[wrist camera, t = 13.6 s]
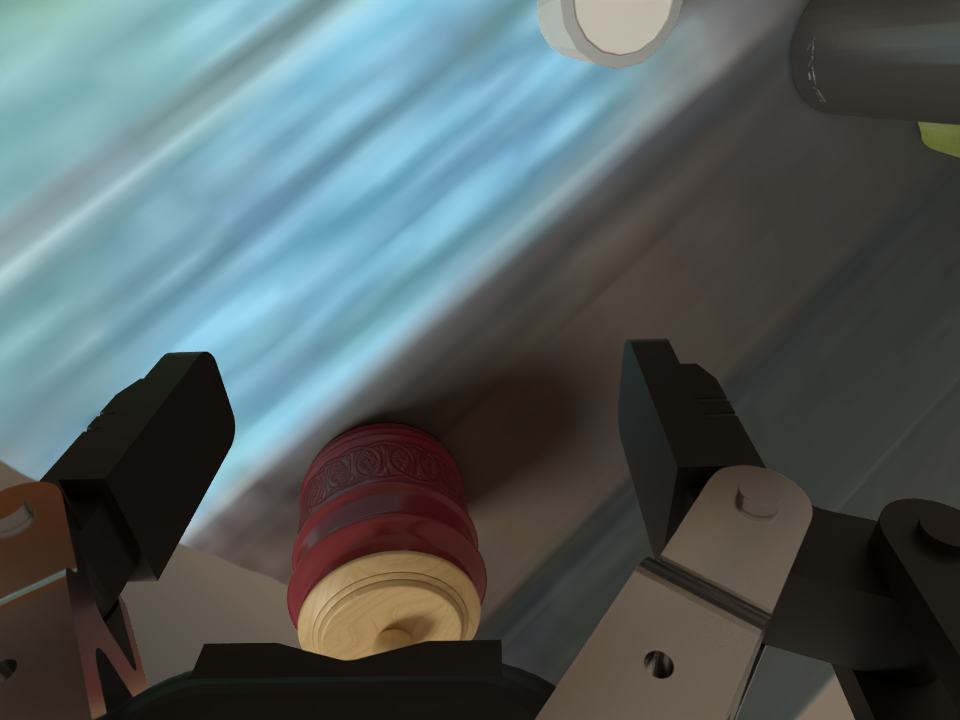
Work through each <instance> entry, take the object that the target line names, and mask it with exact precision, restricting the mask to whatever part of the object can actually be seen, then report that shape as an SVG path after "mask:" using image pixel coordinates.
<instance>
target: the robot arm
mask: <svg viewBox="0 0 960 720" xmlns="http://www.w3.org/2000/svg"><path fill="white" fill-rule="evenodd" d="M791 62H792V74H793V77H794V81H795V84H796V87H797V89H798V91H799V92H800V94H801V96H802V98H803V99H804V100H805V101H806V102H807V103H808V104H809V105H810V106H811V107H813V108H815V109H817V110H819V111H821V112H824V113H829V114H835V115H847V116H859V117H870V118H879V119H891V120H904V121H916V122H928V123H940V124H952V125H960V0H811V1H810V2H809V4H808V6H807V7H806V9H805V10H804V12H803V14H802V17H801V19H800V21H799V24H798V26H797V29H796V33H795V37H794V40H793V46H792V56H791ZM618 423H619V432H620V437H621V441H622V444H623V448H624V451H625V455H626V459H627V462H628V466H629V469H630V473H631V476H632V480H633V483H634V487H635V491H636V494H637V498H638V501H639V505H640V508H641V512H642V516H643V519H644V523H645V526H646V530H647V533H648V537H649V540H650V544H651V548H652V551H653V555H654V558H655V560H654V559H652V558H650V557H647V558H645V559H644V560H643V561H642V562H641V563H640V564H639V565H638V567H637V568H636V569H635V571H634V572H633V574H632V575H631V577H630V578H629V580H628V581H627V583H626V584H625V586H624V587H623V589H622V590H621V592H620V593H619V595H618V596H617V598H616V599H615V601H614V602H613V604H612V605H611V607H610V608H609V610H608V611H607V613H606V614H605V616H604V617H603V619H602V620H601V622H600V623H599V624H598V626H597V627H596V629H595V630H594V632H593V633H592V635H591V636H590V638H589V639H588V641H587V642H586V644H585V645H584V647H583V648H582V650H581V651H580V653H579V654H578V656H577V657H576V659H575V660H574V662H573V663H572V665H571V666H570V668H569V669H568V671H567V672H566V674H565V675H564V677H563V678H562V680H561V681H560V683H559V684H558V686H557V687H556V686H554V685H553V684H551V683H550V682H548V681H546V680H544V679H542V678H541V677H539V676H537V675H535V674H532V673H530V672H527V671H525V670H522V669H520V668H517V667H513V666H509V665H506V664H502V646H501V640H456V641H425V642H421V643H417V644H413V645H409V646H405V647H402V648H398V649H394V650H390V651H386V652H382V653H378V654H374V655H370V656H367V657H363V658H359V659H354V660H340V659H336V658H332V657H329V656H325V655H321V654H317V653H313V652H309V651H306V650H302V649H298V648H294V647H290V646H286V645H283V644H279V643H230V644H204V646H203V648H202V651H201V653H200V656H199V658H198V660H197V662H196V665H195V667H194V669H193V670H191V671H187V672H184V673H182V674H179V675H177V676H174V677H171V678H168V679H166V680H164V681H162V682H160V683H158V684H156V685H154V686H152V687H148V683H147V680H146V677H145V673H144V669H143V666H142V662H141V658H140V654H139V651H138V647H137V644H136V640H135V636H134V633H133V629H132V625H131V621H130V618H129V614H128V611H127V607H126V605H125V602H124V600H123V598H122V597H121V595H120V593H121V592H122V590H123V588H124V587H125V585H126V583H127V582H129V581H158V579H159V578H160V576H161V574H162V572H163V570H164V568H165V566H166V565H167V563H168V561H169V559H170V557H171V556H172V554H173V552H174V550H175V548H176V546H177V545H178V543H179V541H180V539H181V537H182V536H183V534H184V532H185V530H186V528H187V526H188V525H189V523H190V521H191V519H192V517H193V515H194V514H195V512H196V510H197V508H198V506H199V504H200V503H201V501H202V499H203V497H204V495H205V493H206V492H207V490H208V488H209V486H210V484H211V482H212V481H213V479H214V477H215V475H216V473H217V472H218V470H219V468H220V466H221V464H222V462H223V461H224V459H225V457H226V455H227V453H228V451H229V450H230V448H231V446H232V443H233V440H234V434H235V420H234V415H233V412H232V408H231V405H230V402H229V399H228V396H227V393H226V390H225V387H224V384H223V381H222V378H221V375H220V372H219V369H218V366H217V363H216V361H215V359H214V357H213V356H212V354H210V353H209V352H176V353H167V354H165V355H164V356H163V357H162V358H161V359H160V360H159V361H158V362H157V364H156V365H155V366H154V367H153V368H152V370H151V371H150V372H149V373H148V374H147V375H146V377H145V378H144V379H139V380H138V381H136V382H135V383H133V384H132V385H130V386H129V387H127V388H126V389H124V390H122V391H121V392H119V393H118V394H116V395H115V396H114V398H113V399H112V400H111V401H110V402H109V403H108V404H107V406H106V407H105V408H104V409H103V410H102V411H101V412H100V416H97V417H96V418H95V419H94V420H93V421H92V422H91V424H90V425H89V426H88V427H87V432H83V433H82V434H81V435H80V436H79V437H78V438H77V439H76V440H75V442H74V443H73V444H72V445H71V446H70V447H69V448H68V449H67V451H66V452H65V453H64V454H63V455H62V456H61V457H60V459H59V460H58V461H57V462H56V463H55V464H54V465H53V466H52V468H51V469H50V470H49V471H48V472H47V473H46V474H45V475H44V477H43V478H42V479H41V480H40V481H39V482H28V483H23V484H19V485H15V486H12V487H9V488H6V489H4V490H1V491H0V720H736V718H737V716H738V714H739V711H740V709H741V706H742V704H743V701H744V699H745V697H746V694H747V692H748V689H749V687H750V684H751V682H752V679H753V677H754V675H755V672H756V670H757V667H758V665H759V662H760V660H761V658H762V655H763V653H764V650H765V648H766V645H769V646H773V647H776V648H780V649H783V650H787V651H790V652H794V653H797V654H801V655H804V656H808V657H812V658H815V659H819V660H822V661H826V662H829V663H831V664H832V666H833V669H834V671H835V673H836V676H837V678H838V680H839V683H840V685H841V687H842V690H843V692H844V694H845V697H846V699H847V701H848V704H849V706H850V708H851V711H852V713H853V715H854V718H855V720H960V510H957V509H955V508H953V507H950V506H948V505H945V504H942V503H938V502H934V501H929V500H924V499H902V500H897V501H894V502H892V503H890V504H888V505H887V506H885V508H884V509H883V510H882V512H881V514H880V516H879V519H878V521H874V520H869V519H865V518H860V517H855V516H850V515H846V514H841V513H836V512H832V511H828V510H824V509H820V508H818V507H815V506H812V505H811V502H810V500H809V499H808V497H807V495H806V494H805V493H804V492H803V490H802V489H801V488H800V487H799V486H798V485H796V484H795V483H794V482H792V481H791V480H790V479H788V478H786V477H785V476H783V475H781V474H779V473H776V472H774V471H772V470H768V469H766V467H765V465H764V463H763V462H762V460H761V458H760V456H759V455H758V453H757V451H756V449H755V447H754V446H753V444H752V442H751V440H750V438H749V437H748V435H747V433H746V431H745V429H744V428H743V426H742V424H741V422H740V420H739V419H738V417H737V416H735V411H734V410H733V408H732V406H731V404H730V402H729V401H727V400H726V395H725V394H724V392H723V390H722V388H721V386H720V385H719V383H718V381H717V379H716V378H715V377H713V376H712V375H711V374H709V373H708V372H707V371H705V370H704V369H703V368H702V367H700V366H699V365H698V364H680V363H679V361H678V359H677V357H676V355H675V353H674V351H673V348H672V346H671V344H670V342H669V341H668V339H666V338H664V339H632V340H627V341H626V342H625V346H624V352H623V362H622V372H621V383H620V393H619V403H618Z"/></svg>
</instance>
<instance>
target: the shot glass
mask: <svg viewBox="0 0 960 720" xmlns="http://www.w3.org/2000/svg"><path fill="white" fill-rule="evenodd" d="M682 2H683V0H538V4H537V16H538V22H539V28H540V31H541V32H542V34H543V36H544V38H545V40H546V41H547V43H548V45H549V46H550V47H552V48H553V49H554V50H556V51H557V52H558V53H560V54H561V55H562V56H566V57H570V58H574V59H577V60H581V61H585V62H589V63H593V64H597V65H602V66H607V67H612V68H617V69H620V68H624V67H627V66H631V65H635V64H639V63H642V62H643V61H644V60H646V59H647V58H648V57H650V56H651V55H652V54H654V53H655V52H656V51H657V50H659V49H660V48H661V47H662V46H663V44H664V43H665V41H666V40H667V38H668V37H669V35H670V33H671V32H672V30H673V29H674V27H675V26H676V24H677V21H678V17H679V13H680V9H681V6H682Z"/></svg>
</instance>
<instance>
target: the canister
mask: <svg viewBox="0 0 960 720" xmlns="http://www.w3.org/2000/svg"><path fill="white" fill-rule="evenodd" d="M299 508H300V521H299V529H298V536H297V539H296V541H295V544H294V548H293V553H292V569H293V573H292V575H291V578H290V581H289V585H288V591H287V605H288V610H289V614H290V617H291V620H292V622H293V624H294V626H295V628H296V629H297V631H298V637H299V641H300V645H301V647H302V650H306V651H309V652H313V653H317V654H321V655H325V656H329V657H332V658H336V659H340V660H354V659H359V658H363V657H367V656H370V655H374V654H378V653H382V652H386V651H390V650H394V649H398V648H402V647H405V646H409V645H413V644H417V643H421V642H425V641H456V640H472V639H473V637H474V635H475V633H476V631H477V628H478V625H479V622H480V615H481V605H482V602H483V600H484V596H485V592H486V585H487V575H486V569H485V565H484V562H483V559H482V557H481V555H480V553H479V551H478V538H477V533H476V529H475V527H474V524H473V522H472V520H471V518H470V517H469V513H468V509H467V505H466V501H465V490H464V484H463V480H462V477H461V473H460V470H459V468H458V466H457V464H456V462H455V461H454V459H453V458H452V456H451V455H450V453H449V452H448V451H447V449H446V448H445V447H444V446H443V445H442V444H441V443H440V442H439V441H438V440H437V439H436V438H434V437H433V436H431V435H430V434H428V433H426V432H424V431H422V430H420V429H417V428H415V427H412V426H408V425H404V424H397V423H376V424H370V425H365V426H361V427H358V428H355V429H352V430H350V431H347V432H345V433H343V434H341V435H340V436H338V437H336V438H335V439H333V440H332V441H331V442H330V443H328V444H327V445H326V446H325V447H324V448H323V449H322V450H321V451H320V452H319V453H318V455H317V456H316V457H315V459H314V461H313V462H312V464H311V466H310V468H309V470H308V472H307V474H306V476H305V478H304V481H303V484H302V488H301V495H300V502H299Z"/></svg>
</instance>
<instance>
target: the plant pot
mask: <svg viewBox="0 0 960 720" xmlns="http://www.w3.org/2000/svg"><path fill="white" fill-rule="evenodd" d="M918 125H919V127H920V131H921V136H922V138H921V139H922V141H923V142H924V144H925V145H927V146H928V147H929V148H931V149H934V150H937V151H940V152H943V153H946V154H950V155H953V156H956V157H959V158H960V125H952V124H940V123H928V122H918Z"/></svg>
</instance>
